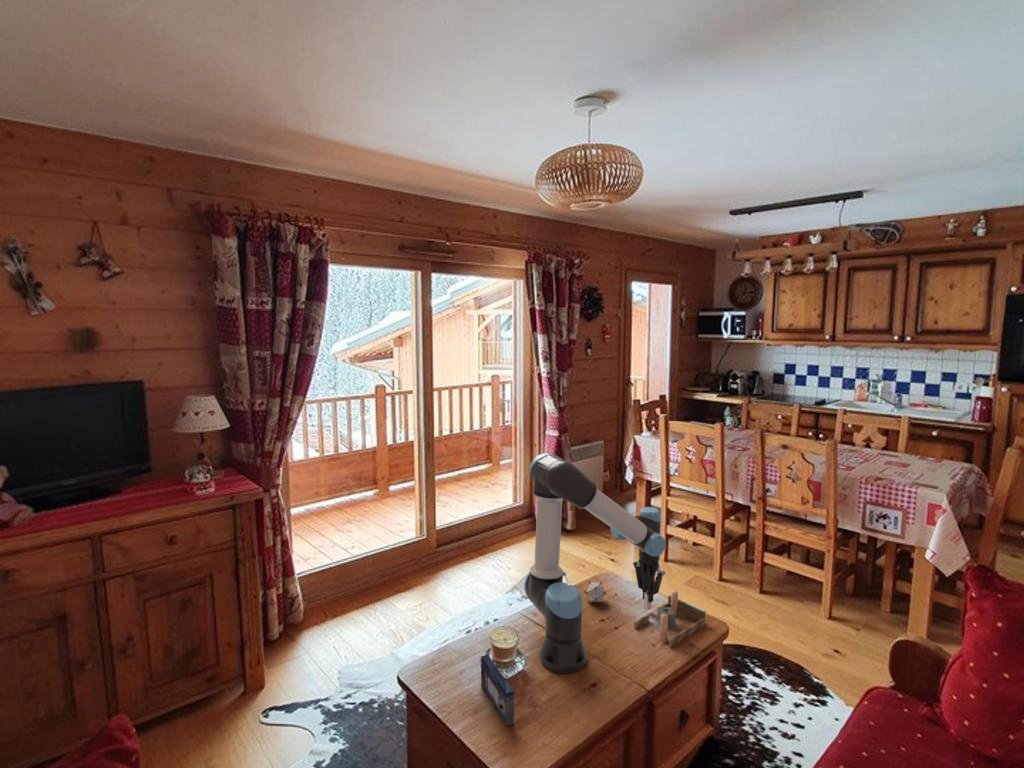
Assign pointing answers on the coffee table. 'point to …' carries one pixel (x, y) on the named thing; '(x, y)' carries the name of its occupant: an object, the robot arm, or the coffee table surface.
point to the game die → (595, 592)
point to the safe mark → (695, 607)
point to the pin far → (674, 601)
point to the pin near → (664, 628)
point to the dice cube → (668, 612)
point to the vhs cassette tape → (497, 690)
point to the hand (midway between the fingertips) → (647, 608)
